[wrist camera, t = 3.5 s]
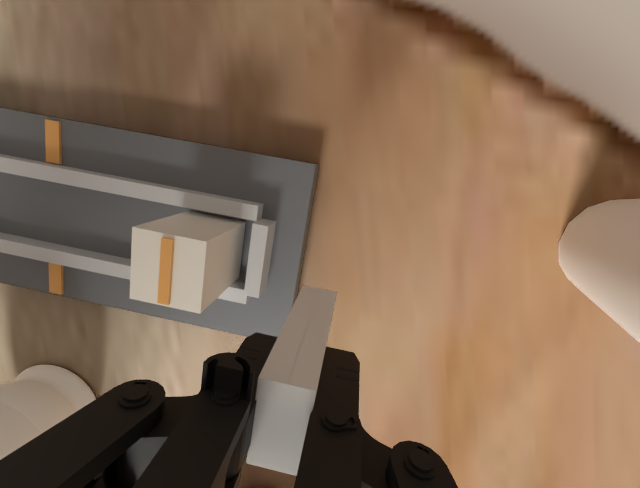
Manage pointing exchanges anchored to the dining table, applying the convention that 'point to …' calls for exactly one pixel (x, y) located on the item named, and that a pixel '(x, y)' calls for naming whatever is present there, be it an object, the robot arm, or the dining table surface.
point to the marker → (56, 157)
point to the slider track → (148, 215)
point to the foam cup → (606, 259)
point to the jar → (38, 403)
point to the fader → (185, 260)
